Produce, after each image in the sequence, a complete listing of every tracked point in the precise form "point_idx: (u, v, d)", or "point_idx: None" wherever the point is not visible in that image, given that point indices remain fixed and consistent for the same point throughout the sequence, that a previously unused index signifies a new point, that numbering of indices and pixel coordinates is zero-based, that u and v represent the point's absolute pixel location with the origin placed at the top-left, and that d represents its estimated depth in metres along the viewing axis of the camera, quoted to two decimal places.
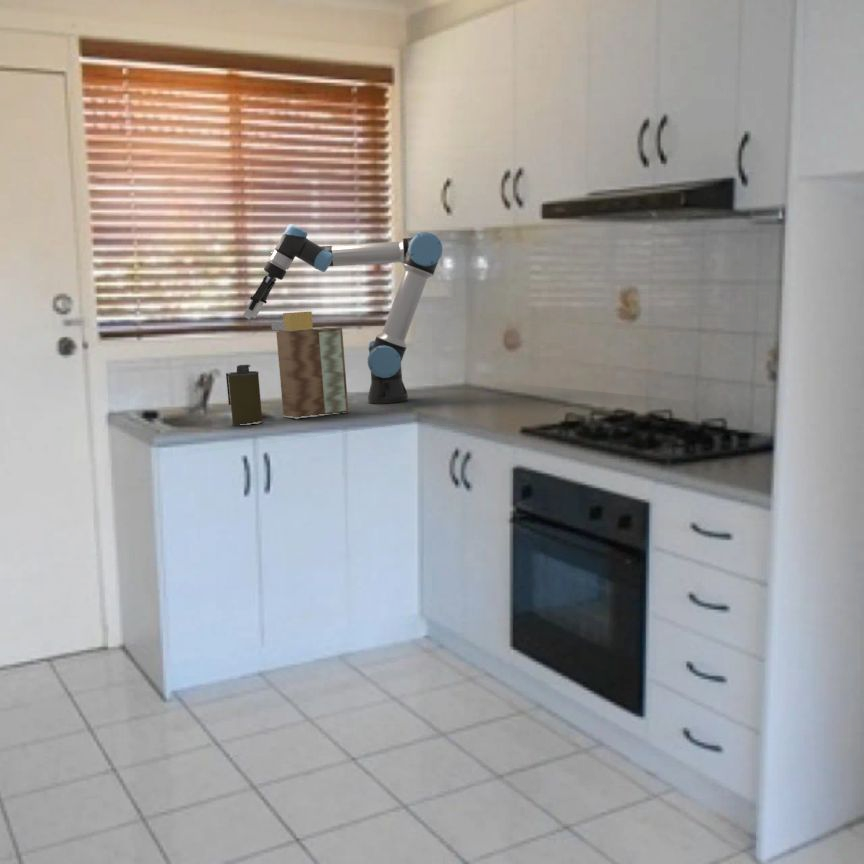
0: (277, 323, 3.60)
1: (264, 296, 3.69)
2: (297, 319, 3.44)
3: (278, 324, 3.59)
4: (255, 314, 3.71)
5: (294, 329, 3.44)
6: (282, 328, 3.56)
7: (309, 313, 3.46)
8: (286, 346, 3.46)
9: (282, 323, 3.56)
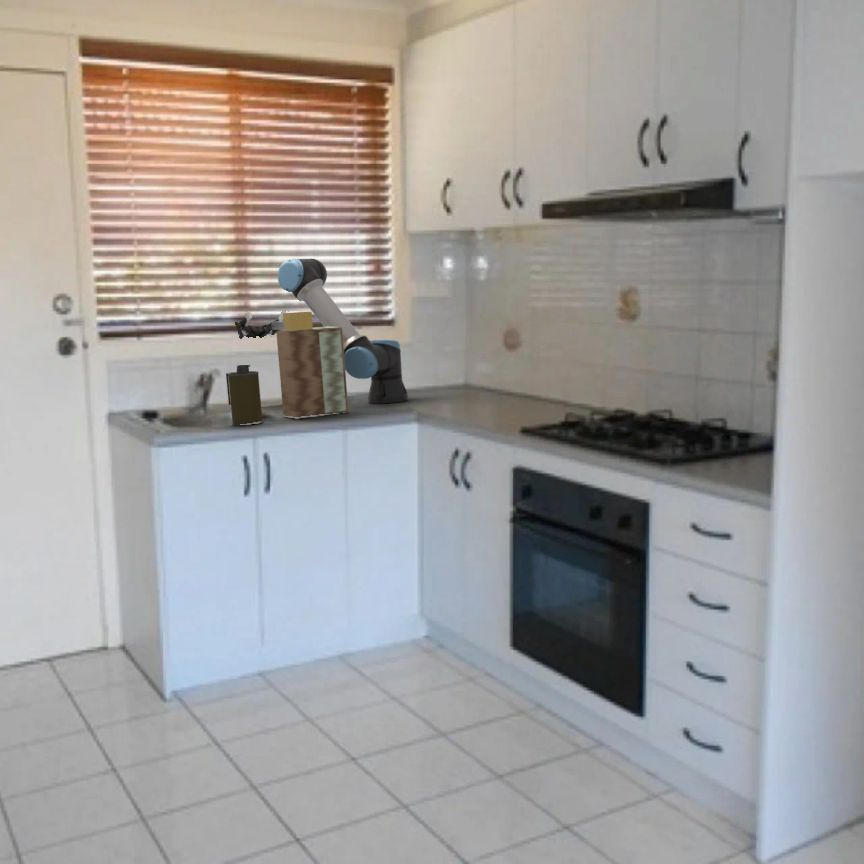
0: (277, 323, 3.60)
1: None
2: (297, 319, 3.44)
3: (278, 324, 3.59)
4: (282, 312, 3.75)
5: (294, 329, 3.44)
6: (282, 328, 3.56)
7: (309, 313, 3.46)
8: (286, 346, 3.46)
9: (282, 323, 3.56)
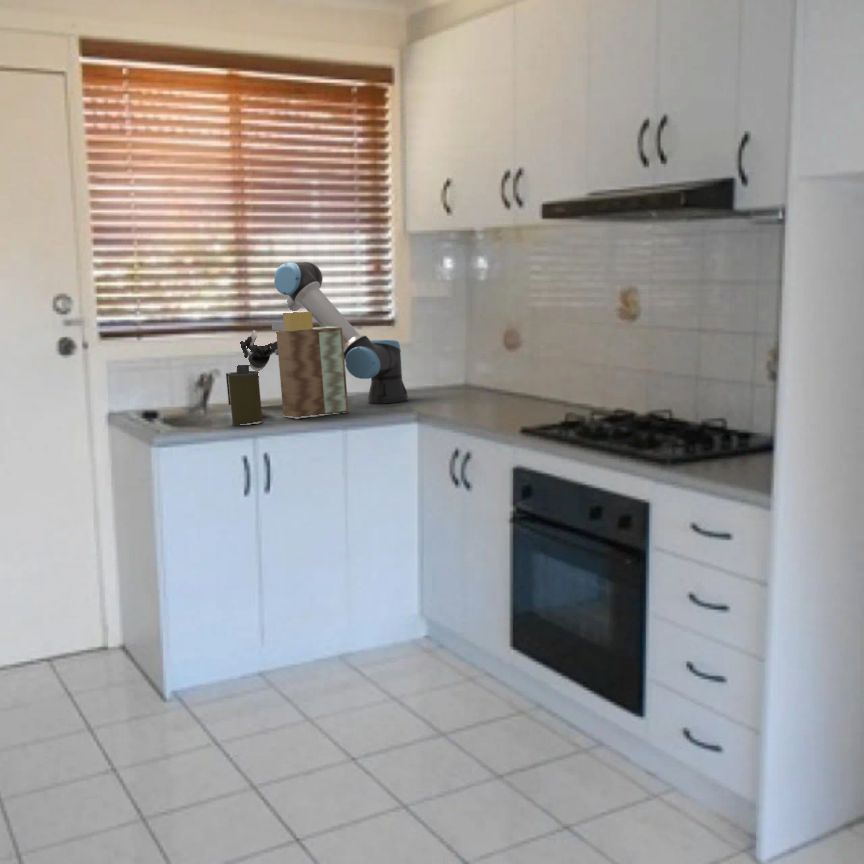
0: (277, 323, 3.60)
1: None
2: (297, 319, 3.44)
3: (278, 324, 3.59)
4: None
5: (294, 329, 3.44)
6: (282, 328, 3.56)
7: (309, 313, 3.46)
8: (286, 346, 3.46)
9: (282, 323, 3.56)
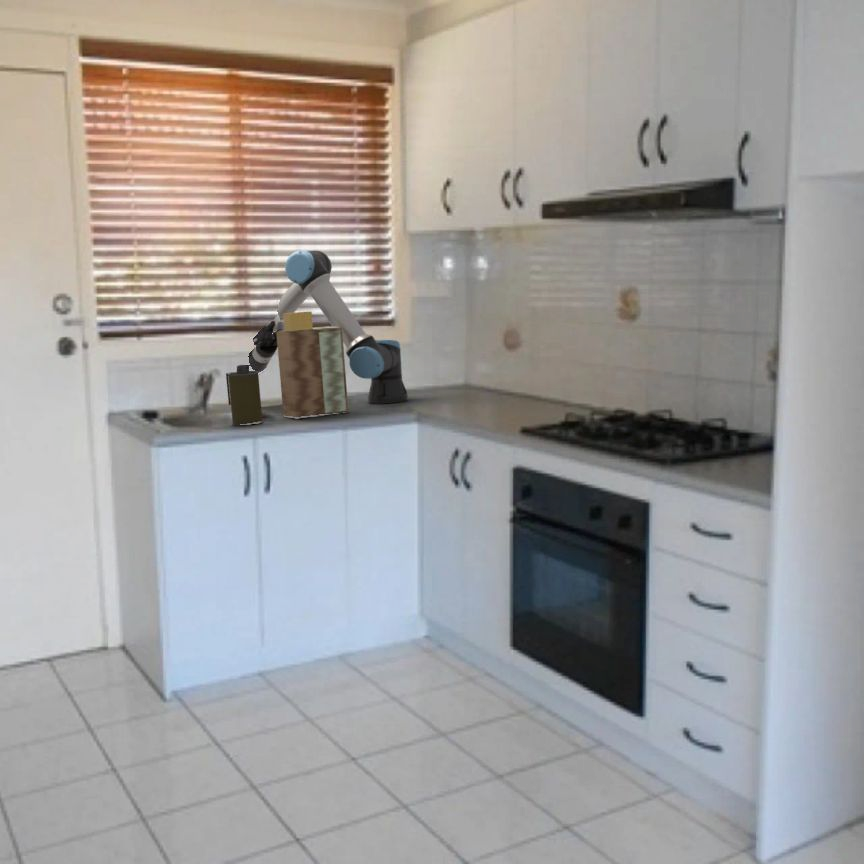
0: None
1: None
2: (297, 319, 3.44)
3: None
4: None
5: (294, 329, 3.44)
6: (282, 328, 3.56)
7: (309, 313, 3.46)
8: (286, 346, 3.46)
9: (282, 323, 3.56)
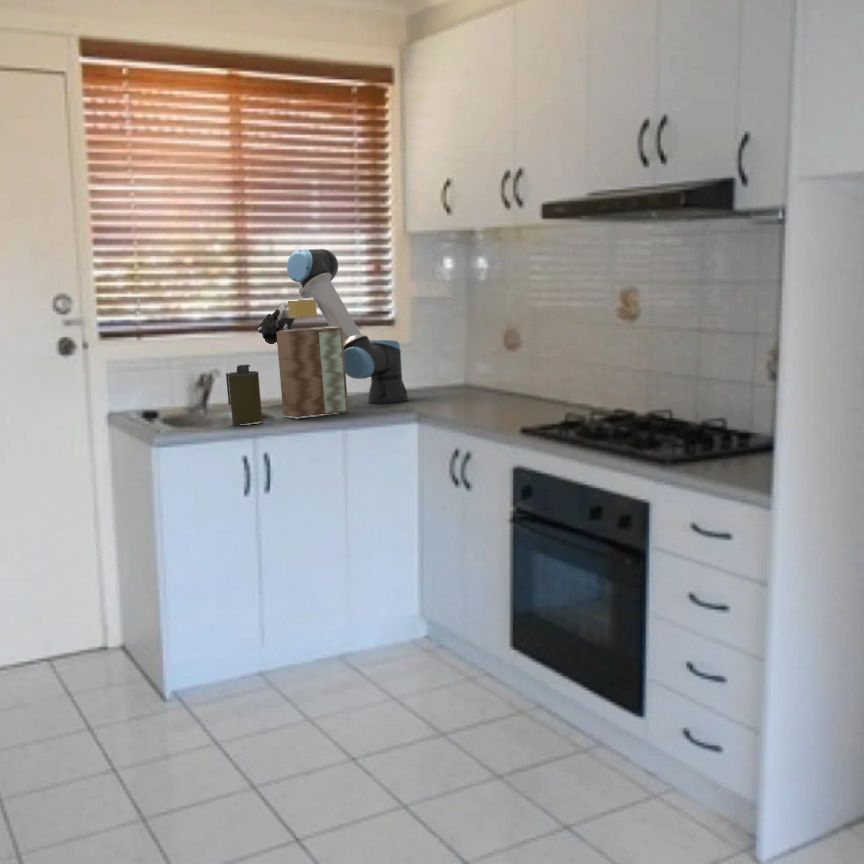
0: None
1: None
2: (301, 306, 3.55)
3: None
4: None
5: (299, 317, 3.55)
6: (286, 316, 3.67)
7: (313, 301, 3.57)
8: (286, 346, 3.46)
9: (286, 311, 3.67)
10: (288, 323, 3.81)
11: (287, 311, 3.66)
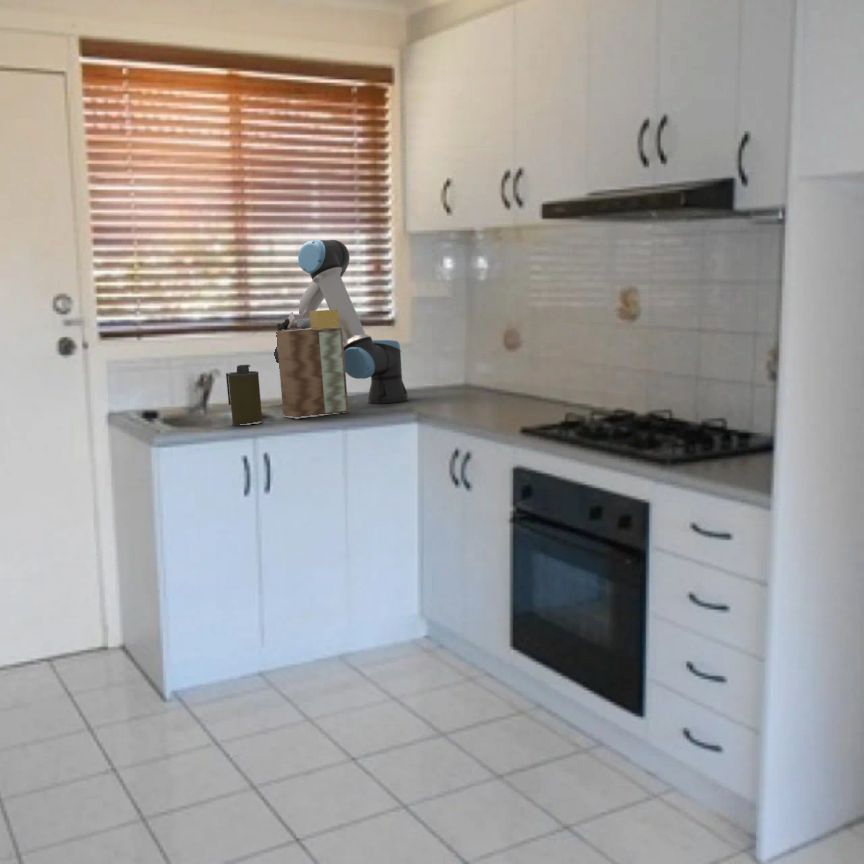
0: (303, 321, 3.64)
1: None
2: (323, 317, 3.49)
3: (304, 321, 3.64)
4: None
5: (321, 327, 3.49)
6: (308, 326, 3.61)
7: (335, 311, 3.51)
8: (286, 346, 3.46)
9: (308, 321, 3.60)
10: None
11: (309, 321, 3.60)
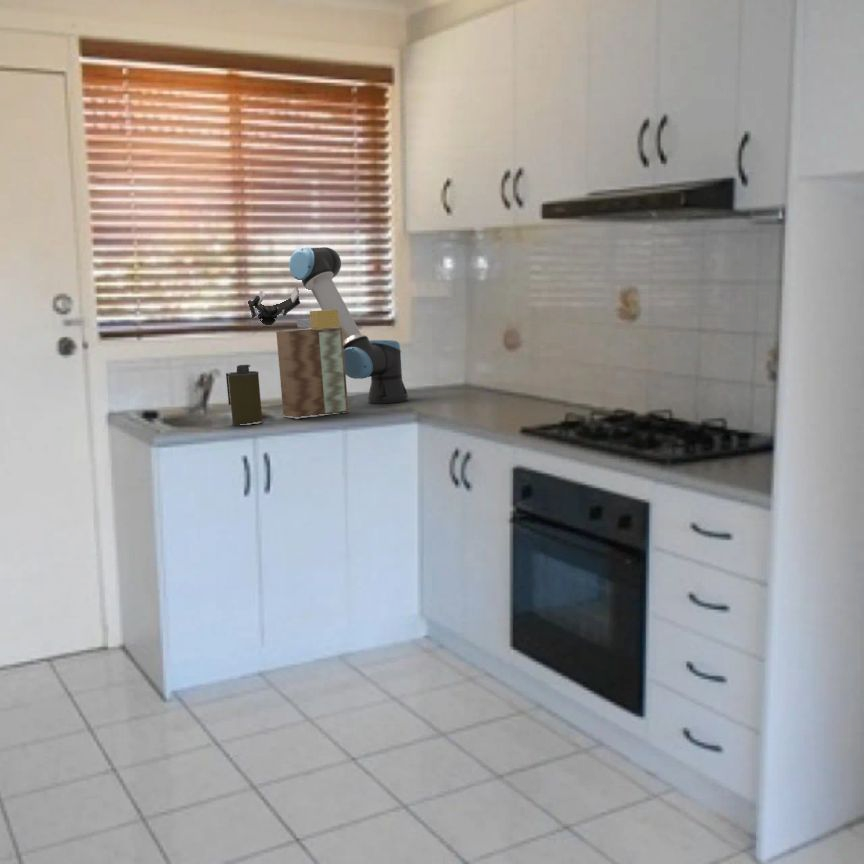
0: (303, 321, 3.64)
1: (286, 301, 3.83)
2: (323, 317, 3.49)
3: (304, 321, 3.64)
4: (294, 290, 3.77)
5: (321, 327, 3.49)
6: (308, 326, 3.61)
7: (335, 311, 3.51)
8: (286, 346, 3.46)
9: (308, 321, 3.60)
10: (288, 307, 3.86)
11: (309, 321, 3.60)
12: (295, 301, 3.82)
